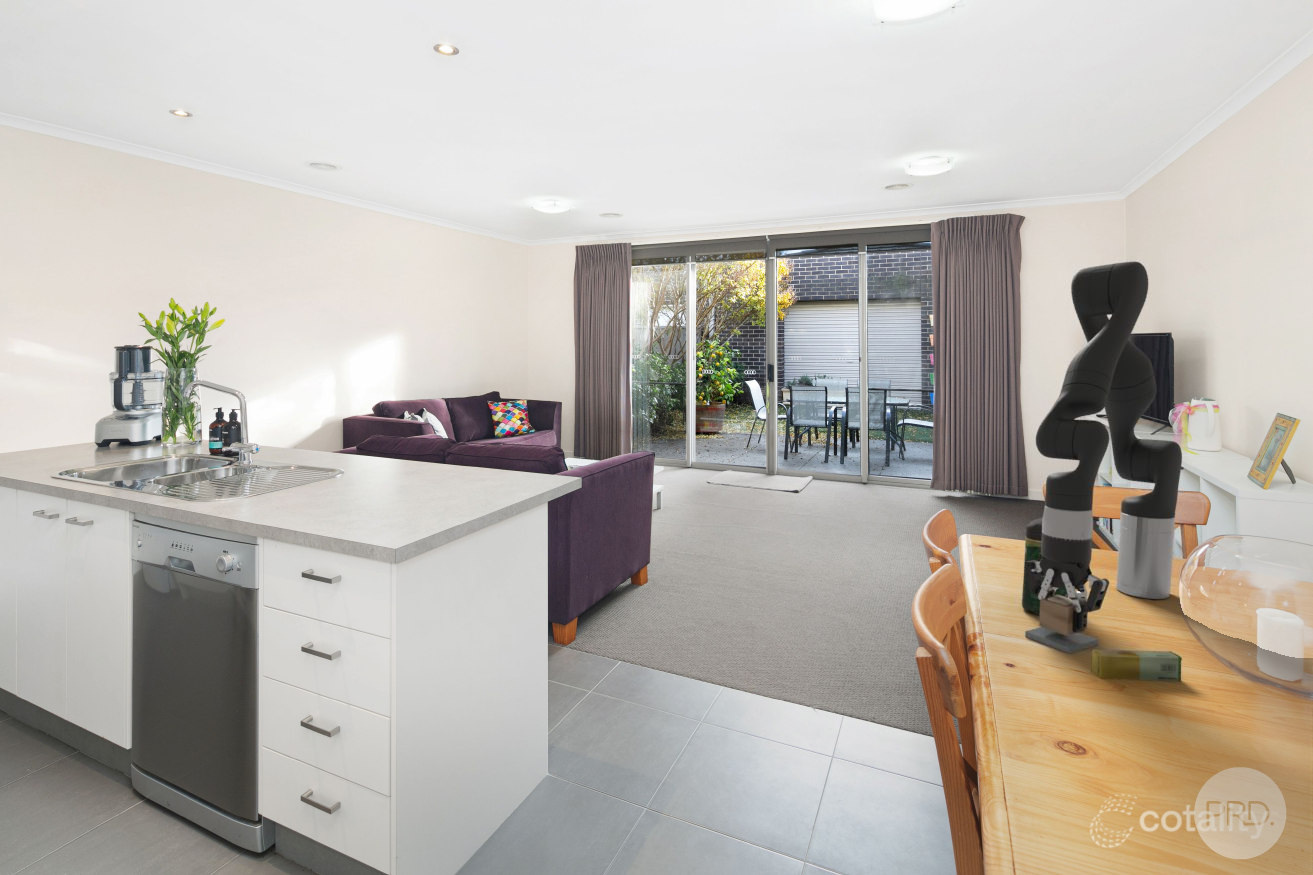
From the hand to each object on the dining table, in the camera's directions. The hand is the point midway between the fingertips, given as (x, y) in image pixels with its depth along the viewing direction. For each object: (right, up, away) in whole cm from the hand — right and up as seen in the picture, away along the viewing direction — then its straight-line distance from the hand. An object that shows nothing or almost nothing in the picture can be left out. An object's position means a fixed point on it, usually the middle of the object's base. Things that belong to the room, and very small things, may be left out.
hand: (1061, 625), depth 115 cm
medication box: (+3, -5, -13) cm, 14 cm away
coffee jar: (+6, -1, +15) cm, 17 cm away
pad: (0, -3, 0) cm, 3 cm away
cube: (0, 0, 0) cm, 0 cm away
